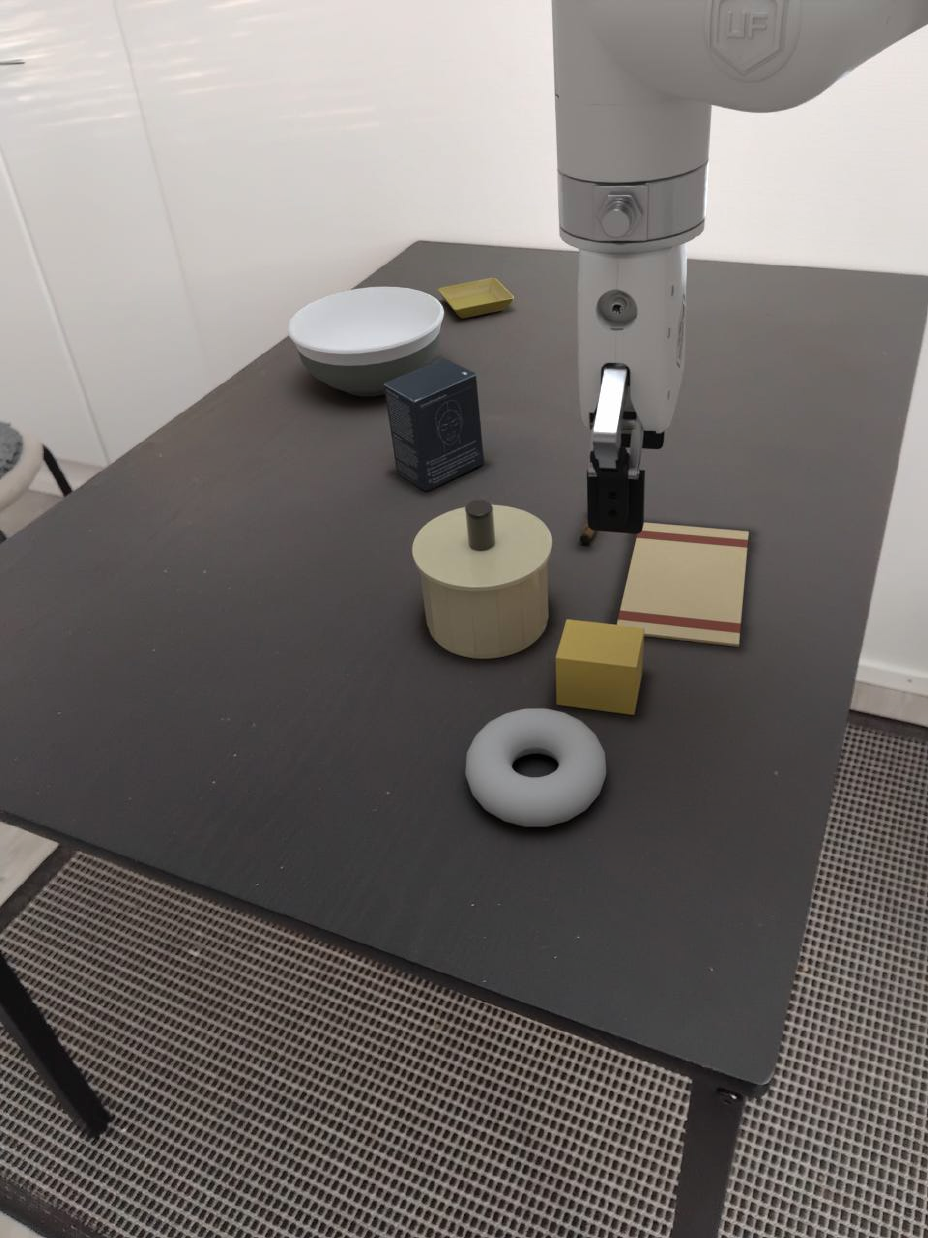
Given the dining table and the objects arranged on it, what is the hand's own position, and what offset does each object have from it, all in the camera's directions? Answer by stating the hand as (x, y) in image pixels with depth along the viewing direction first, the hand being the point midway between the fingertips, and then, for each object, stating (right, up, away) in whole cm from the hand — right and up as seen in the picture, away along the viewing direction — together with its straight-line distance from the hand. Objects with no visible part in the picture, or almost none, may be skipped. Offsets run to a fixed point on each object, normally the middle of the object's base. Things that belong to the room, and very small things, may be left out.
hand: (628, 485), depth 61 cm
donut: (-5, -20, +9) cm, 23 cm away
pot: (-8, -8, +23) cm, 26 cm away
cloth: (+9, -5, +25) cm, 27 cm away
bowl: (-21, +21, +60) cm, 67 cm away
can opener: (+3, +1, +33) cm, 33 cm away
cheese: (0, -14, +16) cm, 21 cm away
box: (-13, +7, +43) cm, 45 cm away
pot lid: (-9, -3, +19) cm, 21 cm away
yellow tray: (-9, +35, +75) cm, 83 cm away
